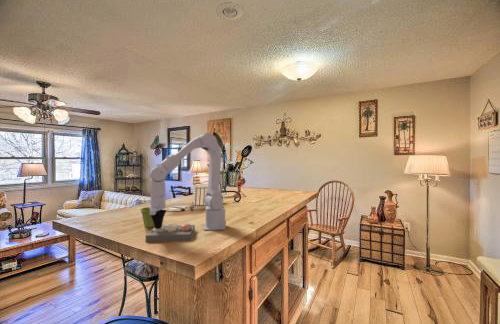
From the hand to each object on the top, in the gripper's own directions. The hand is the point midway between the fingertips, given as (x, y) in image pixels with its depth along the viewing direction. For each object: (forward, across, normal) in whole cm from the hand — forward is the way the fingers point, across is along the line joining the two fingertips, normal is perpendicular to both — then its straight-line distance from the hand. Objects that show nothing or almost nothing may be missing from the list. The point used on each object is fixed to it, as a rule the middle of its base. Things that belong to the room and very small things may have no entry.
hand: (158, 228), depth 94 cm
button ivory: (+2, 0, +5) cm, 6 cm away
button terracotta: (+2, 0, +11) cm, 11 cm away
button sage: (+3, 0, 0) cm, 3 cm away
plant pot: (+4, -15, -8) cm, 17 cm away
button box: (+3, 0, +6) cm, 6 cm away
